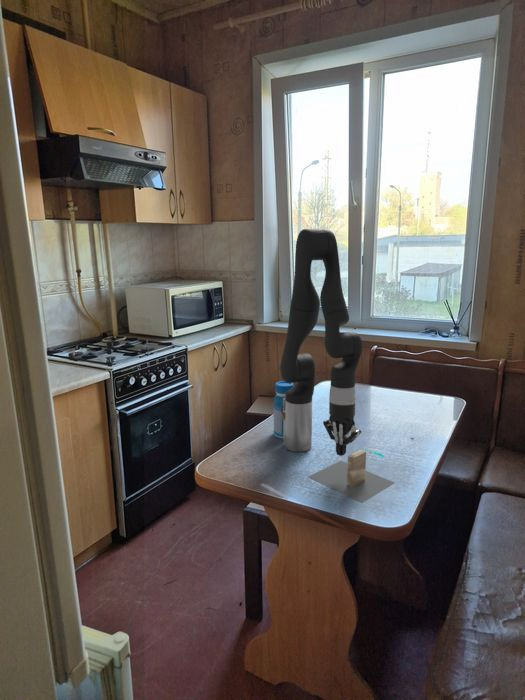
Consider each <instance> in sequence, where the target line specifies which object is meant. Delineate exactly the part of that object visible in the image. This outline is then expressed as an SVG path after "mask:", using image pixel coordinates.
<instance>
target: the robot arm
mask: <svg viewBox="0 0 525 700" xmlns="http://www.w3.org/2000/svg"><path fill="white" fill-rule="evenodd" d="M337 241H338V240H337V238H336V235H335V234H334V231H332V230H331V229H328V228H304V229H302V230H300V232H299V233H298V235H297V238H296V241H295V253H294V254H295V260H294V277H293V284H292V285H293V287H292V293H291V299H290V306H289V308H290V309H289V315H288V325H287V331H286V332H287V333H286V336H285V342H284V347H283V350H282V351H283V352H282V355H281V360H280V369H279V370H280V375H281V380H282V381H285V382H287V383H293V384H294V383H296V384H295V385H294V387H292V388H291V389H289V390H288V391H287V392H286V394H285V419H284V420H283V438H282V441H283V446H285V448H286V449H287V450H288V451H291V452H294V453H295V452H297V453H301V452H307V451H310V450H311V449H312V442H313V441H312V440H313V439H312V435H313V395H314V393H315V379H316V378H315V377H316V364H315V361H314V358H313V356H312V355H311V354H310V353H300V354H299V352H300V350H301V347H302V345H303V343H304V342H305V340H306V339H307V338H308V336H309V335H310V334H311V332H313V330H314V328H315V327H316V325H317V322H318V319H319V315H320V313H319V312H320V307H321V311H322V316H323V319H324V334H325V335H324V348H325V351H326V354H327V355H328V356H329V357H330V358H333V359H341V361H340V362H339V363H336V364H334V365H332V367H331V370H330V388H329V403H328V405H329V411H328V414H329V417H328V419H326V420H325V421H324V420H323V423H322V424H323V427H324V428H325V430H326V431H327V434H328V436H329V438H330V439H331V440H334V443H335V452H336V455H337V456H340V457H342V456H345V454H347V445H349V444H351V443H353V442H354V441H355V440H356V439H357V437H359V435H360V434H362V430H361V429H358V428H357V427H356V425H355V424H356V423H355V419H354V418H355V416H356V396H357V393H356V392H357V391H356V372H357V368H358V365H359V362H360V359H361V355H362V352H363V340H362V338H361V336H360V334H358V333H357V332H354V331H346V332H340V327H341V326H344V325H346V324H347V323H348V322H349V321H350V315H349V311H348V307H347V304H346V300H345V295H344V291H343V287H342V278H341V269H340V268H341V267H340V258H339V257H340V256H339V248H338V242H337ZM313 261H322V262H323V265H324V270H325V274H324V280H323V282H322V283H323V284H322V287H321V291H320V296H319V294H318V292H317V290H316V288H315V285H314V283H313V280H312V275H311V274H312V273H311V272H312V269H311V268H312V262H313Z"/></svg>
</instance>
